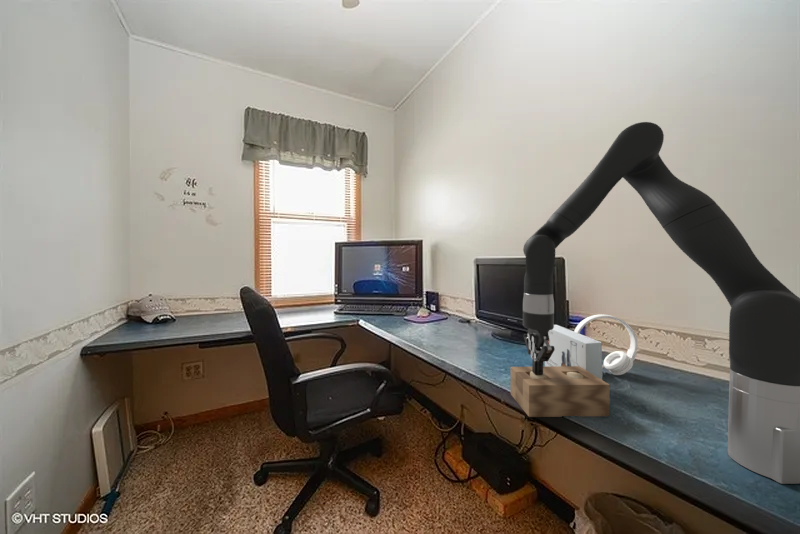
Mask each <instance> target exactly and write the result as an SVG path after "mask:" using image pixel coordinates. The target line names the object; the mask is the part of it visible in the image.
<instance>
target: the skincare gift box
mask: <svg viewBox="0 0 800 534" xmlns="http://www.w3.org/2000/svg"><path fill="white" fill-rule="evenodd" d="M548 335H549V344H550V346H554V348H555V350H554V352H553V354H552V355H551V357H550V359H549V360H548V361H544V367H550V366H580V367H582V368H583V369H585V370H586V371H588V372H590V373H591V374H593V375H595V376H596V377H598V378H600V379H601V380H603V369H602V364H603V352H602V351H603V346H602V345H603V343H602V342H601V341H600V340H597V339H594V338H592V337H589V336H586V335H584V334H581V333H576V332H574V330H572V329H569V328H566V327H564V326H561V325H558V324H554V328H553V329H552V330H549V331H548Z"/></svg>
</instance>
